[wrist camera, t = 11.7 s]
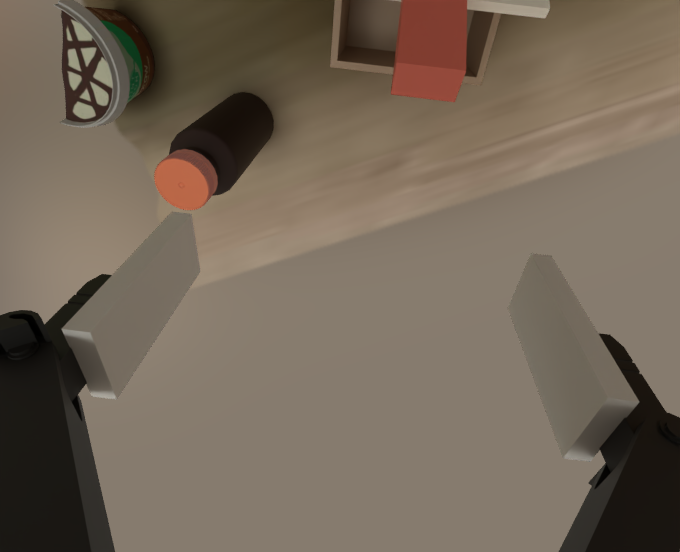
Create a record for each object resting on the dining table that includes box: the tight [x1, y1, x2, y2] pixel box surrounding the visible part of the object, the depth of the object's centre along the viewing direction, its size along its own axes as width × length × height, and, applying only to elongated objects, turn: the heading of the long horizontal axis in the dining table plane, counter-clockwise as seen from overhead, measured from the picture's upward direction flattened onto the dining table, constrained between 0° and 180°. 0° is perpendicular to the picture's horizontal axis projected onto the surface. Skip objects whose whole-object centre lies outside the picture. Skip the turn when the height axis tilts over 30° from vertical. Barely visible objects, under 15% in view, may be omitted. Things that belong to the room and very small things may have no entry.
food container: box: [54, 0, 154, 127], centre depth 44 cm, size 12×6×10 cm, turn 159°
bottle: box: [154, 93, 273, 210], centre depth 43 cm, size 7×7×20 cm
